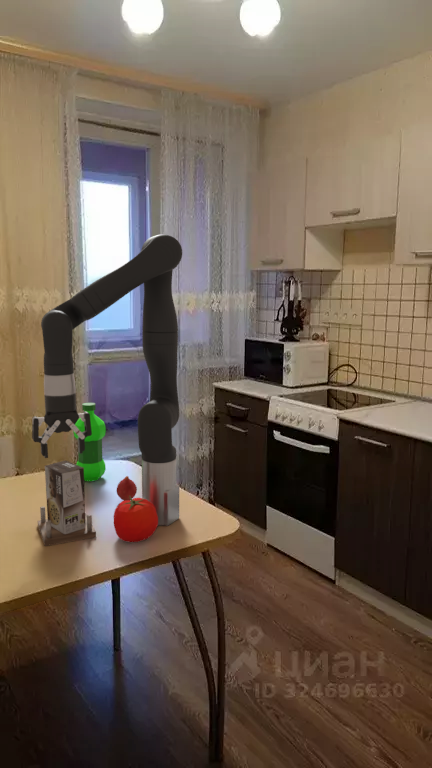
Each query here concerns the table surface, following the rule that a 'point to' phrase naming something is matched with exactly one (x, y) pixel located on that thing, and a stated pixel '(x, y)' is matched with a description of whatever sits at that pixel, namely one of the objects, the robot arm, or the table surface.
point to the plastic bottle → (92, 445)
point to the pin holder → (56, 537)
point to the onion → (126, 489)
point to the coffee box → (65, 496)
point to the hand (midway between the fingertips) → (63, 455)
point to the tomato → (135, 520)
